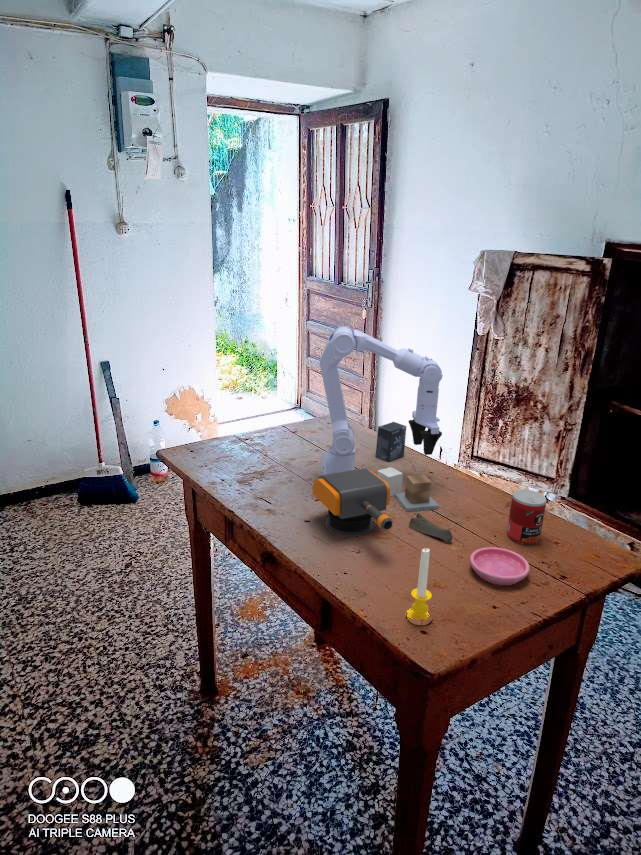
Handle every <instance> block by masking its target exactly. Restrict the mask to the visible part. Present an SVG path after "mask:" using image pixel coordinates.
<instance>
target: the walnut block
mask: <svg viewBox="0 0 641 855" xmlns="http://www.w3.org/2000/svg"><path fill="white" fill-rule="evenodd" d="M431 487H432V482H431V481H430V479H429V478H428V477H427V476H426V475H425V474H416V475H415V474H414V475H406V480H405V490H404V492H405V496H406V498H407V499H408V500H409V502H410V503H411V504H419V503H429V499H430V497H431Z"/></svg>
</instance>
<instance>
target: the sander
mask: <svg viewBox="0 0 641 855" xmlns="http://www.w3.org/2000/svg"><path fill="white" fill-rule="evenodd" d="M312 494H313V495H314V497H316V498H317V499H318V501H320V502H321V504H322V505H324V506H325V507H326V509H327V515H328V516H327V517H326V521H325V526H326V528H327V527H328V528H329V529H330V530H331V532H332V531H333V532H332V533H334V532H335V533H334V534H336V533H337V534H336V535H339V534H340V536H344V535H345V536H344V537H359V536H364V535H367V534H369V533H371V532H372V530H373V529H374V525H375V524H374V520H375V521H376V524H377V526H379V527H380V529H382V530H384V531H387V530H390V529H391V528H392V526H393V519H392V518H391V517H389V515H388V514H385V513H382V512H383V511H386V510H387V506H390V497H391V496H390V487H389V484H388V483H386V482H385V481H384V480H382V479H381V478H380V477H379V476H377V474H376V473H375V472H374V471H373V470H370V469H368V468H365V467H363V468H357V469H354V470H350V471H344V472H338V473H332V474H326V475H319V476H318V478H317V479H315V480H314V482H313V484H312ZM372 518H373V519H374V520H373V519H372ZM328 528H327V529H328ZM329 529H328V530H329ZM330 530H329V531H330Z"/></svg>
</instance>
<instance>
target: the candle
mask: <svg viewBox="0 0 641 855" xmlns="http://www.w3.org/2000/svg"><path fill="white" fill-rule="evenodd" d="M430 552H431V549H430V548H427V547H424V548H422V549H421V553H420V559H419V560H420V561H419V570H418V577H417V578H418V581H417V587H415V588H413V589H412V591H411V592H410V594H411V597H413V599H414V602H413V603H412V604H411V608H409V610H408V609H407V610H406V612H407V613H408V614H407V617H409V618H411V619H413V618H415V619H416V620H418V619H420V620H421V619H424V620H425V619H426V620H427V618H428V617H429V616H430V615H429V613H428V611H429V610H430V609H429V605H428V602H427V601H429V600H431V599H432V596H433V594H432V592H431V591H430V590H428V589H427V588H428V577H429V576H428V575H429V565H430ZM411 609H412V610H411ZM428 615H429V616H428ZM412 617H413V618H412ZM409 618H408V619H409ZM417 618H418V619H417ZM413 620H414V619H413Z"/></svg>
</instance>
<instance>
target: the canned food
mask: <svg viewBox="0 0 641 855" xmlns="http://www.w3.org/2000/svg"><path fill="white" fill-rule="evenodd" d="M510 501H511V502H510V509H509V514H508V515H509V516H508V521H507V527H506V531H507V532H506V533H507V536H508V538H509V537H510V538H509V539H511V540H512V541H513V540H514V541H513V542H515V541H516V542H515V543H517V542H519V543H518V544H521V543H523V544H522V545H526V544H531V545H535V544H537V543H538V542H539V541H540V538H541V536H542V530H543V529H542V528H543V523H544V517H545V512H546V506H547V498H546V497H545V495H544V494H542V493H540V492H538V491H534V490H531V489H517V490H515V491H513V492H512V495H511V500H510ZM536 542H537V543H536ZM534 543H535V544H534Z"/></svg>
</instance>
